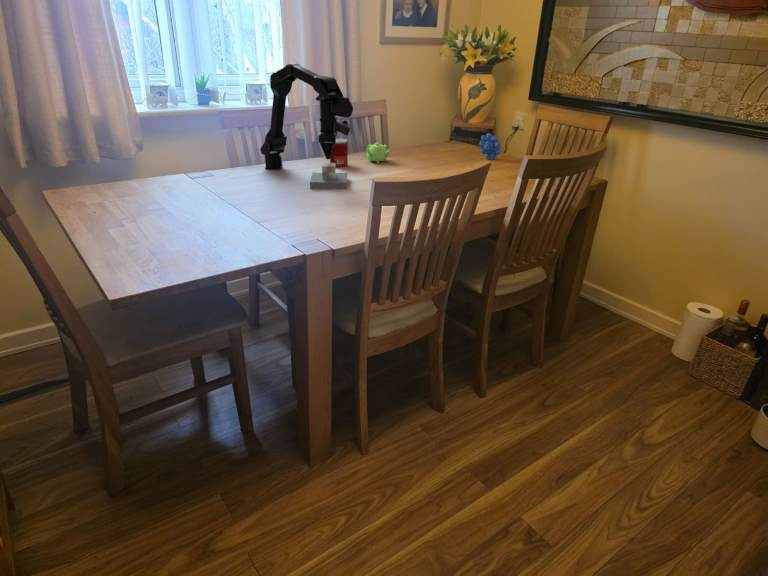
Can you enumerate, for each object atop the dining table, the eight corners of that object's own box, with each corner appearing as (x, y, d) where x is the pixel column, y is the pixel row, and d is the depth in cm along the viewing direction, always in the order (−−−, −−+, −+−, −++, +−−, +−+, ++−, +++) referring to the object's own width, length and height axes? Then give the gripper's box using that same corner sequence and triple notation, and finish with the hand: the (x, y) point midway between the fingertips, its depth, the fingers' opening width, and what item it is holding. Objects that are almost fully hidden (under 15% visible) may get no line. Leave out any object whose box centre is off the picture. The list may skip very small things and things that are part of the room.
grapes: (473, 158, 246) (476, 132, 241) (480, 155, 251) (483, 131, 245) (494, 162, 240) (497, 136, 234) (501, 160, 245) (504, 134, 239)
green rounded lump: (363, 158, 240) (363, 140, 236) (387, 158, 242) (388, 140, 238) (366, 164, 230) (366, 145, 226) (391, 164, 232) (392, 145, 228)
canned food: (351, 164, 228) (351, 139, 223) (340, 168, 222) (340, 142, 217) (337, 162, 232) (337, 137, 227) (326, 165, 226) (325, 140, 221)
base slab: (310, 188, 195) (309, 182, 194) (312, 178, 207) (312, 172, 206) (346, 189, 196) (346, 182, 194) (347, 179, 208) (347, 172, 207)
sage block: (322, 179, 198) (321, 166, 196) (323, 175, 202) (322, 163, 200) (335, 179, 198) (334, 166, 196) (335, 175, 203) (335, 163, 200)
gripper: (349, 118, 181) (349, 162, 189) (349, 110, 198) (349, 151, 205) (317, 118, 181) (319, 162, 188) (320, 110, 197) (322, 150, 204)
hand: (328, 156), depth 196 cm, fingers open, 9 cm apart
